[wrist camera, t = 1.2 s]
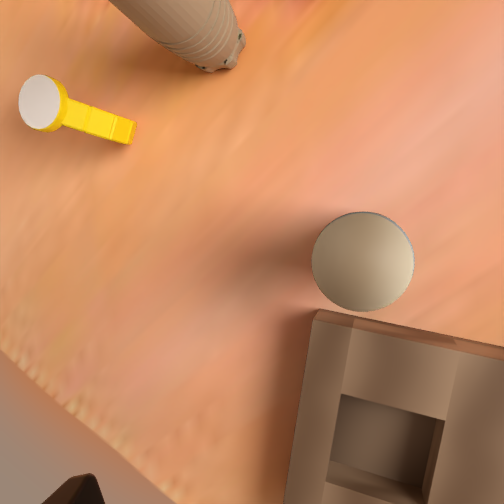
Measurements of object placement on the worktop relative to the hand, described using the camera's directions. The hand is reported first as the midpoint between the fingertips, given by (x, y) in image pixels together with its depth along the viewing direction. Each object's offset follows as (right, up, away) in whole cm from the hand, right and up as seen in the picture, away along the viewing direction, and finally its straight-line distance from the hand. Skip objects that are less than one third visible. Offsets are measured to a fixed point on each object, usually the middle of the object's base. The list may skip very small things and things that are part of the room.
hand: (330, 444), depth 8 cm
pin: (+5, +4, +15) cm, 16 cm away
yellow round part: (-11, +12, +19) cm, 25 cm away
